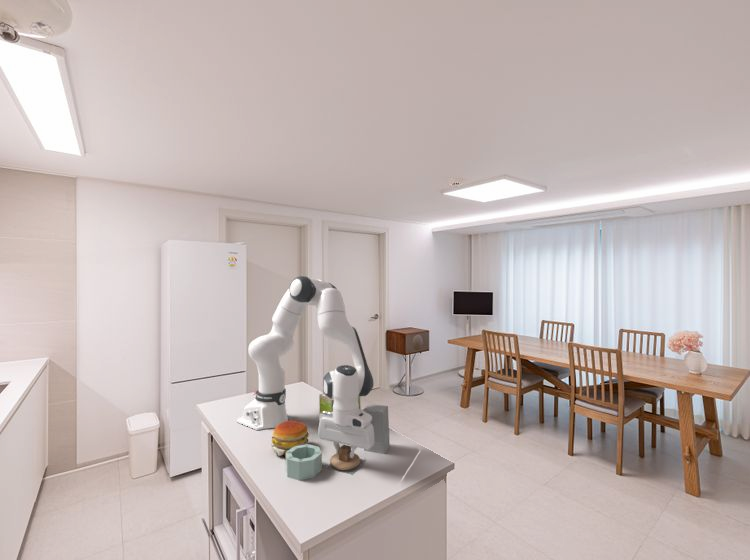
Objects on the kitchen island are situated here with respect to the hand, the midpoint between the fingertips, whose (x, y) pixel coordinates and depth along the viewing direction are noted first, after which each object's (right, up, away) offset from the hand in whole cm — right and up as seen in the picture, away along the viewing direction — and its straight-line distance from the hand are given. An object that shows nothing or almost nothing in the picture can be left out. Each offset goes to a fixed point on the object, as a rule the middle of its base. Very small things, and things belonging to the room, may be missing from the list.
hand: (345, 455), depth 118 cm
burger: (-21, -3, +10) cm, 24 cm away
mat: (0, -3, 0) cm, 3 cm away
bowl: (-13, -3, -4) cm, 14 cm away
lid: (0, -2, 0) cm, 2 cm away
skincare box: (+11, -3, +11) cm, 16 cm away
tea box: (-5, -3, +31) cm, 31 cm away
